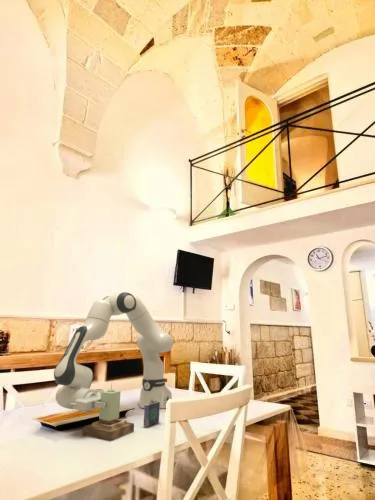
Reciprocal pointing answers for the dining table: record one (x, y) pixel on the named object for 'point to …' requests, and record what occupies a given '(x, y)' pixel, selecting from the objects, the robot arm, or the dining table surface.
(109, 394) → the pillar
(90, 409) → the robot arm
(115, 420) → the base
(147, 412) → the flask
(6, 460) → the dining table surface
